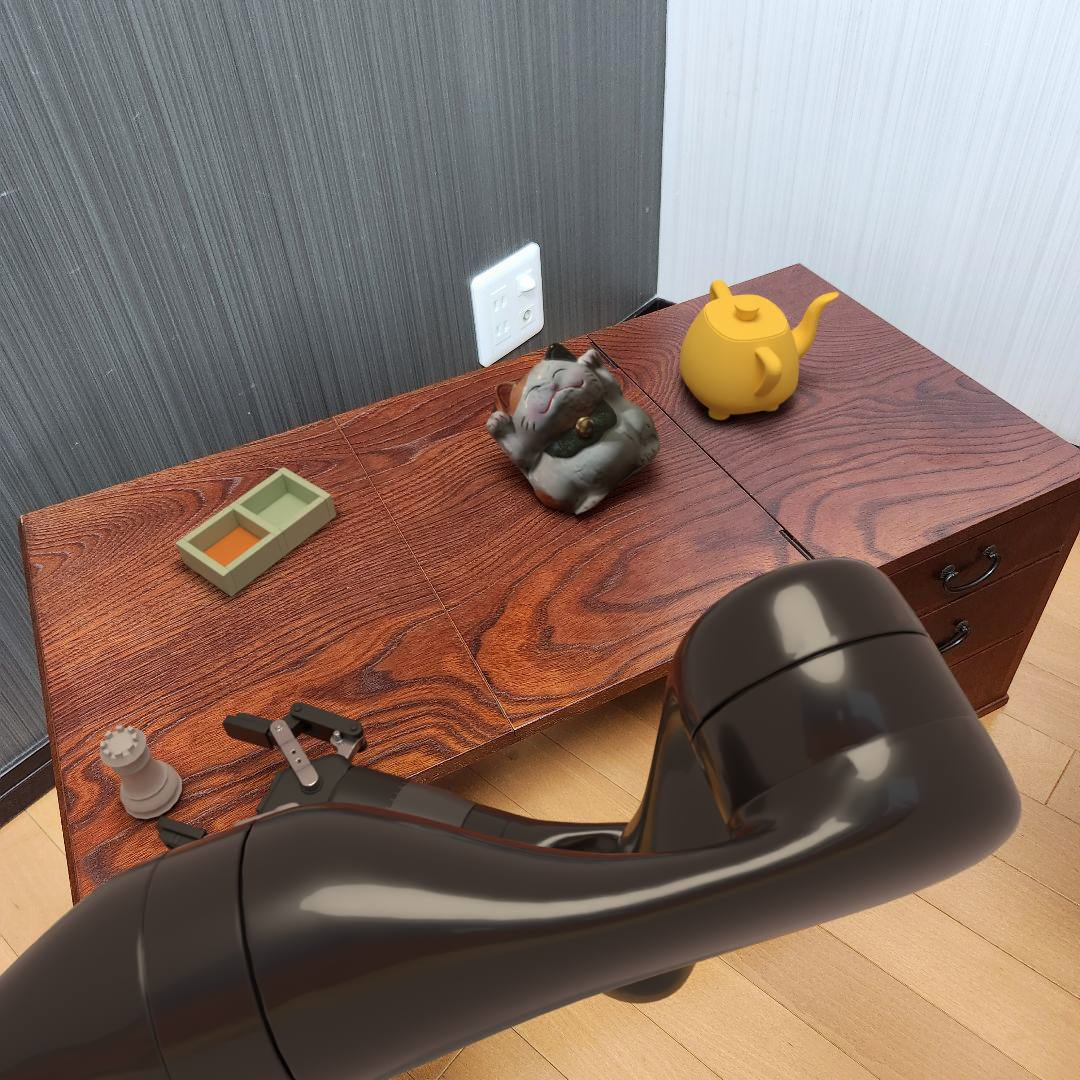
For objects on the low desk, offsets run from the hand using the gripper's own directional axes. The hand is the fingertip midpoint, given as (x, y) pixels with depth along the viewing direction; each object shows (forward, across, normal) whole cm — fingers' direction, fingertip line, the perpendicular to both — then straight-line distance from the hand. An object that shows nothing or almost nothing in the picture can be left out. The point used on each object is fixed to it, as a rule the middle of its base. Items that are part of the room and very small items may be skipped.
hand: (195, 774), depth 67 cm
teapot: (-30, -64, +6) cm, 71 cm away
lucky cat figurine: (-15, -45, +6) cm, 48 cm away
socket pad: (+12, -27, +6) cm, 30 cm away
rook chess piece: (+6, 0, +6) cm, 8 cm away
